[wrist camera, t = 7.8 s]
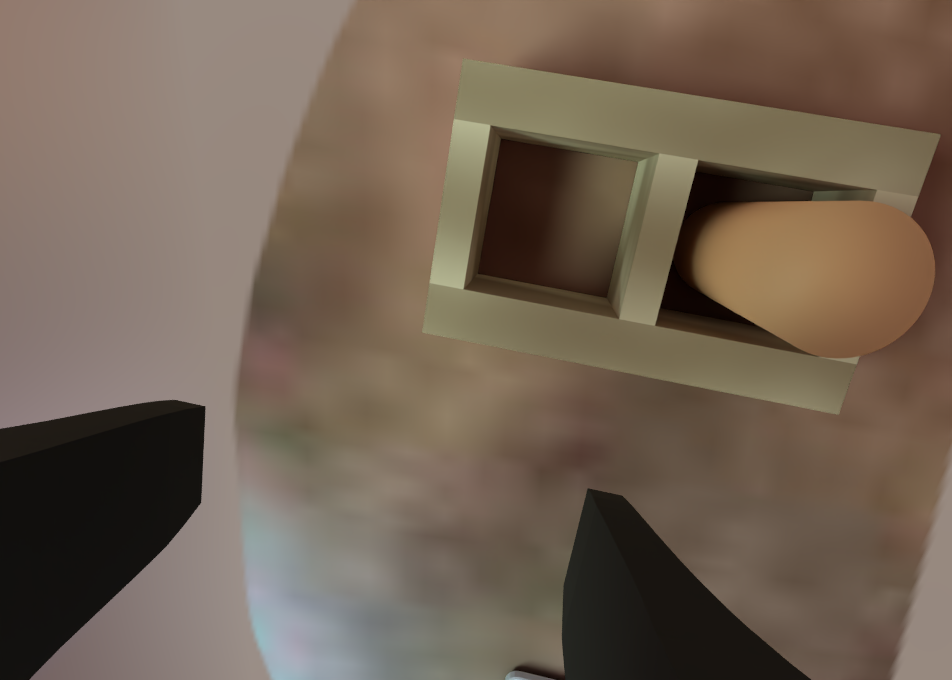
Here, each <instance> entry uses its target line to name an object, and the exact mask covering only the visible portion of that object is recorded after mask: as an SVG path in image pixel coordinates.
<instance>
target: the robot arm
mask: <svg viewBox="0 0 952 680" xmlns="http://www.w3.org/2000/svg"><path fill="white" fill-rule="evenodd" d="M204 427H205V406H201V405H196V404H191V403H187V402H182V401H178V400H166V401H155V402H148V403H141V404H134V405H129V406H123V407H117V408H113V409H107V410H102V411H96V412H91V413H86V414H81V415H75V416H70V417H65V418H60V419H55V420H49V421H44V422H38V423H32V424H27V425H21V426H15V427H9V428H3V429H0V680H29V679H30V678H31V677H32V676H33V675H34V674H35V673H36V672H37V671H38V670H39V669H40V668H41V667H42V666H43V665H44V664H45V663H46V662H47V661H48V660H49V659H50V658H51V657H52V656H53V655H54V654H55V653H56V651H57V650H58V649H59V648H60V647H61V646H63V645H64V644H65V643H66V642H67V641H68V640H69V639H70V638H71V637H72V636H73V635H74V634H75V633H76V632H77V631H78V630H79V629H80V628H81V627H83V626H84V625H85V624H86V623H87V622H88V621H89V620H90V619H91V618H92V617H93V616H94V615H95V614H96V613H97V612H98V611H100V609H102V608H103V607H104V606H105V605H106V604H107V603H108V602H109V601H110V600H111V599H112V598H113V597H114V596H115V595H116V594H118V593H119V592H120V591H121V590H122V588H124V587H125V586H126V585H127V584H128V583H129V582H130V581H131V580H132V579H133V578H134V577H135V576H136V575H137V574H139V572H140V571H142V569H144V568H145V567H146V566H147V565H148V564H149V563H150V562H151V561H152V560H153V559H154V558H155V557H156V556H157V555H158V554H159V553H160V552H161V551H162V550H163V549H164V548H165V547H166V546H167V545H168V544H169V542H170V541H171V540H172V539H173V538H174V536H175V535H176V534H177V533H178V532H179V531H180V529H181V528H182V527H183V526H184V524H185V523H186V522H187V520H188V519H189V518H190V517H191V515H192V514H193V513H194V511H195V510H196V509H197V507H198V506H199V505H200V503H201V493H202V471H203V449H204ZM562 646H563V658H564V669H565V680H811V679H810V678H808V677H807V676H806V675H805V674H803V673H802V672H801V671H799V670H798V669H797V668H796V667H794V666H793V665H792V664H791V663H789V662H788V661H787V660H786V659H784V658H783V657H782V656H781V655H780V654H779V653H777V652H776V651H775V650H774V649H773V648H772V647H770V646H769V645H768V644H767V643H766V642H764V641H763V640H762V639H761V638H760V637H759V636H757V635H756V634H755V633H754V632H753V631H751V630H750V629H749V628H748V627H747V626H746V625H745V624H744V623H742V622H741V621H740V620H739V619H738V618H737V617H736V616H735V615H734V614H733V613H732V612H731V611H729V610H728V609H727V608H726V607H725V606H724V605H723V604H722V603H721V602H720V601H719V600H718V599H717V598H716V597H715V596H714V595H713V594H712V593H711V592H710V591H709V590H708V589H707V588H706V587H705V586H704V585H703V584H702V583H701V582H700V581H699V580H698V579H697V578H696V577H695V576H694V575H693V574H692V573H691V572H690V571H689V569H688V568H687V567H686V566H685V565H684V564H683V563H682V562H681V561H680V560H679V559H678V558H677V556H676V555H675V554H674V553H673V552H672V551H671V550H670V549H669V548H668V547H667V545H666V544H665V543H664V542H663V541H662V540H661V539H660V537H659V536H658V535H657V534H656V533H655V532H654V531H653V529H652V528H651V527H650V526H649V525H648V524H647V522H646V521H645V520H644V519H643V518H642V517H641V515H640V514H639V513H638V512H637V511H636V510H635V509H634V507H633V506H632V505H631V504H630V503H629V502H628V501H627V500H626V499H625V498H624V497H623V496H621V495H616V494H612V493H607V492H602V491H598V490H593V489H588V490H587V494H586V498H585V502H584V506H583V510H582V514H581V518H580V522H579V526H578V530H577V534H576V538H575V542H574V546H573V550H572V554H571V558H570V562H569V566H568V570H567V574H566V578H565V582H564V590H563V617H562ZM505 680H555V679H550V678H546V677H542V676H538V675H534V674H530V673H526V672H521V671H512V672H510V673H509V674H507V676H506V678H505Z"/></svg>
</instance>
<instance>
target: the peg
mask: <svg viewBox="0 0 952 680" xmlns="http://www.w3.org/2000/svg"><path fill="white" fill-rule="evenodd" d="M673 260H674V264H675V267H676V270H677V272H678V274H679V275H680V277H681V278H682V279H683V281H684V282H685V283H686V284H687V285H689V286H690V287H692V288H693V289H695V290H697V291H698V292H700V293H702V294H704V295H705V296H707V297H709V298H711V299H712V300H714V301H716V302H718V303H719V304H721V305H723V306H725V307H726V308H728V309H730V310H732V311H733V312H735V313H737V314H739V315H741V316H742V317H744V318H746V319H748V320H749V321H751V322H753V323H755V324H756V325H758V326H760V327H762V328H763V329H765V330H767V331H769V332H770V333H772V334H774V335H776V336H777V337H779V338H781V339H783V340H785V341H786V342H788V343H790V344H792V345H793V346H795V347H797V348H799V349H801V350H803V351H805V352H807V353H810V354H813V355H816V356H820V357H825V358H835V359H837V358H852V357H858V356H862V355H866V354H869V353H872V352H874V351H877V350H879V349H881V348H883V347H885V346H887V345H889V344H891V343H892V342H894V341H895V340H897V339H898V338H899V337H900V336H902V335H903V334H904V333H905V332H906V331H907V330H908V329H909V328H910V327H911V326H912V325H913V324H914V323H915V322H916V321H917V319H918V318H919V317H920V315H921V314H922V312H923V310H924V309H925V307H926V305H927V303H928V301H929V298H930V296H931V293H932V289H933V286H934V280H935V259H934V253H933V250H932V247H931V244H930V242H929V240H928V238H927V236H926V234H925V233H924V231H923V230H922V229H921V227H920V226H919V225H918V224H917V223H916V222H915V221H914V220H913V219H912V218H911V217H909V216H908V215H907V214H905V213H904V212H902V211H900V210H898V209H896V208H894V207H892V206H889V205H886V204H883V203H878V202H873V201H785V202H720V203H714V204H710V205H707V206H705V207H703V208H701V209H699V210H697V211H696V212H694V213H693V214H692V215H690V216H689V217H688V218H687V219H686V220H685V222H684V223H683V224H682V226H681V228H680V232H679V236H678V240H677V243H676V247H675V251H674V255H673Z"/></svg>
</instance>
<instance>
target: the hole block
mask: <svg viewBox="0 0 952 680" xmlns="http://www.w3.org/2000/svg"><path fill="white" fill-rule="evenodd" d="M940 136H941V134H935V133H929V132H923V131H916V130H910V129H904V128H898V127H891V126H885V125H879V124H872V123H866V122H860V121H853V120H847V119H841V118H835V117H828V116H822V115H816V114H809V113H803V112H797V111H790V110H784V109H778V108H772V107H765V106H759V105H753V104H746V103H740V102H734V101H727V100H721V99H715V98H709V97H702V96H696V95H690V94H683V93H677V92H671V91H664V90H658V89H652V88H646V87H639V86H633V85H627V84H620V83H614V82H608V81H601V80H595V79H589V78H583V77H576V76H570V75H564V74H557V73H551V72H545V71H538V70H532V69H526V68H519V67H513V66H507V65H501V64H494V63H488V62H482V61H475V60H469V59H463V62H462V69H461V75H460V82H459V89H458V96H457V102H456V109H455V116H454V122H453V129H452V136H451V143H450V149H449V156H448V163H447V169H446V176H445V183H444V189H443V196H442V203H441V210H440V216H439V223H438V230H437V236H436V243H435V250H434V257H433V263H432V270H431V277H430V283H429V290H428V297H427V303H426V310H425V317H424V324H423V330H422V333H427V334H432V335H437V336H442V337H448V338H453V339H458V340H463V341H468V342H473V343H478V344H483V345H488V346H493V347H498V348H503V349H508V350H513V351H518V352H523V353H528V354H534V355H539V356H544V357H549V358H554V359H559V360H564V361H569V362H574V363H579V364H584V365H589V366H594V367H599V368H604V369H609V370H615V371H620V372H625V373H630V374H635V375H640V376H645V377H650V378H655V379H660V380H665V381H670V382H675V383H680V384H685V385H690V386H696V387H701V388H706V389H711V390H716V391H721V392H726V393H731V394H736V395H741V396H746V397H751V398H756V399H761V400H766V401H771V402H776V403H782V404H787V405H792V406H797V407H802V408H807V409H812V410H817V411H822V412H827V413H832V414H837V415H838V414H839V412H840V409H841V406H842V404H843V401H844V398H845V395H846V393H847V390H848V387H849V384H850V382H851V379H852V376H853V374H854V371H855V368H856V365H857V363H858V360H859V357H860V356H858V357H852V358H837V359H835V358H825V357H820V356H816V355H813V354H810V353H807V352H805V351H803V350H801V349H799V348H797V347H795V346H793V345H792V344H790V343H788V342H786V341H785V340H783V339H781V338H779V337H777V336H776V335H774V334H772V333H770V332H769V331H767V330H765V329H763V328H762V327H758V326H753V325H748V324H742V323H737V322H732V321H726V320H721V319H716V318H710V317H705V316H700V315H694V314H689V313H684V312H678V311H673V310H668V309H663V308H660V304H661V301H662V297H663V293H664V289H665V285H666V282H667V278H668V274H669V270H670V266H671V262H672V259H673V255H674V251H675V247H676V243H677V240H678V236H679V232H680V228H681V224H682V220H683V217H684V213H685V209H686V205H687V201H688V197H689V194H690V190H691V186H692V182H693V178H694V175H695V172H701V173H707V174H713V175H719V176H725V177H731V178H737V179H743V180H749V181H755V182H760V183H766V184H772V185H778V186H784V187H790V188H796V189H802V190H808V191H814V193H813V197H812V200H811V201H873V202H878V203H883V204H886V205H889V206H892V207H894V208H896V209H898V210H900V211H902V212H904V213H905V214H907V215H908V216H909V217H911V215H912V213H913V210H914V207H915V204H916V202H917V199H918V196H919V193H920V191H921V188H922V185H923V183H924V180H925V177H926V174H927V172H928V169H929V166H930V163H931V161H932V158H933V155H934V153H935V150H936V147H937V144H938V142H939V139H940ZM501 139H506V140H512V141H518V142H524V143H530V144H535V145H541V146H547V147H553V148H559V149H565V150H571V151H577V152H583V153H589V154H595V155H601V156H606V157H612V158H618V159H624V160H630V161H636V162H638V167H637V171H636V175H635V179H634V184H633V188H632V192H631V196H630V201H629V205H628V209H627V213H626V218H625V222H624V226H623V230H622V235H621V239H620V243H619V247H618V252H617V256H616V260H615V264H614V269H613V273H612V277H611V281H610V286H609V290H608V294H607V298H604V297H599V296H593V295H588V294H583V293H577V292H572V291H567V290H561V289H556V288H551V287H545V286H540V285H535V284H530V283H524V282H519V281H514V280H508V279H503V278H498V277H492V276H487V275H482V274H478V270H479V264H480V258H481V252H482V246H483V240H484V235H485V229H486V223H487V217H488V211H489V205H490V200H491V194H492V188H493V182H494V176H495V170H496V165H497V159H498V153H499V147H500V141H501Z"/></svg>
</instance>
